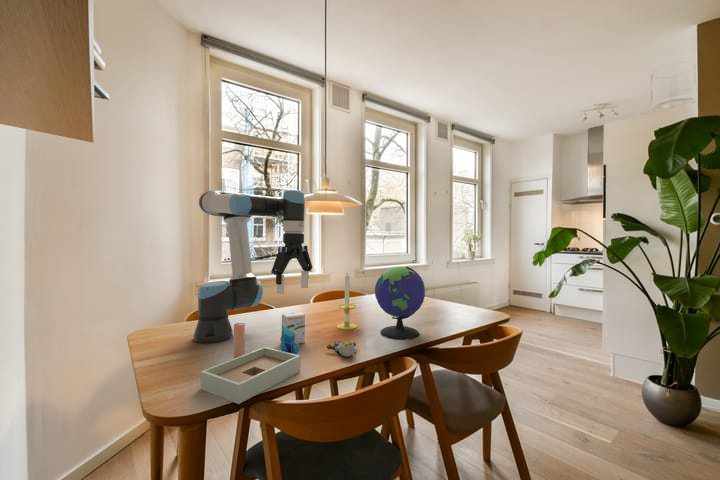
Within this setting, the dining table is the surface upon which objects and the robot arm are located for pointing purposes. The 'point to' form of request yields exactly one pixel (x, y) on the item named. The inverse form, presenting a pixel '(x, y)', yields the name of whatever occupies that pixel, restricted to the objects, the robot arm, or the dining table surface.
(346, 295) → the candle
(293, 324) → the ink box
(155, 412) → the dining table surface
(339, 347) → the toy
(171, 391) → the dining table surface
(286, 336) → the gemstone
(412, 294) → the globe
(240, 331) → the peg
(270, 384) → the box
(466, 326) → the dining table surface
